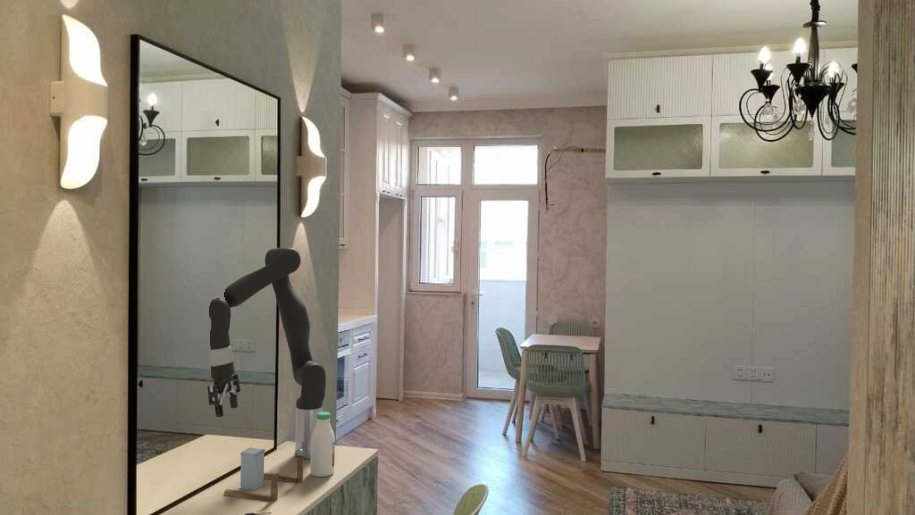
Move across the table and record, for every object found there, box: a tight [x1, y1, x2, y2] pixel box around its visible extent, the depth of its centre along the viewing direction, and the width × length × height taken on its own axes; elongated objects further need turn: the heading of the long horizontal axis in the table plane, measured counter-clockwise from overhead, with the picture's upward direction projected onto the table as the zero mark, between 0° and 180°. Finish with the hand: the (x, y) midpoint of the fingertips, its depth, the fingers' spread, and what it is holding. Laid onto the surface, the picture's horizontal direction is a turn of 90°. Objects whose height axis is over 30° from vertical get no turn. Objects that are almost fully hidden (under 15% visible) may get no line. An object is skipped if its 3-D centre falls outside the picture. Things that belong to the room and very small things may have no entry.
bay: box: [223, 456, 304, 502], centre depth 203 cm, size 18×17×8 cm
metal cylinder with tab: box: [294, 441, 306, 459], centre depth 209 cm, size 4×2×4 cm, turn 166°
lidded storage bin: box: [239, 447, 266, 491], centre depth 204 cm, size 5×5×11 cm
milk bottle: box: [309, 411, 336, 478], centre depth 216 cm, size 8×8×20 cm
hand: (227, 412), depth 207 cm, fingers open, 8 cm apart
